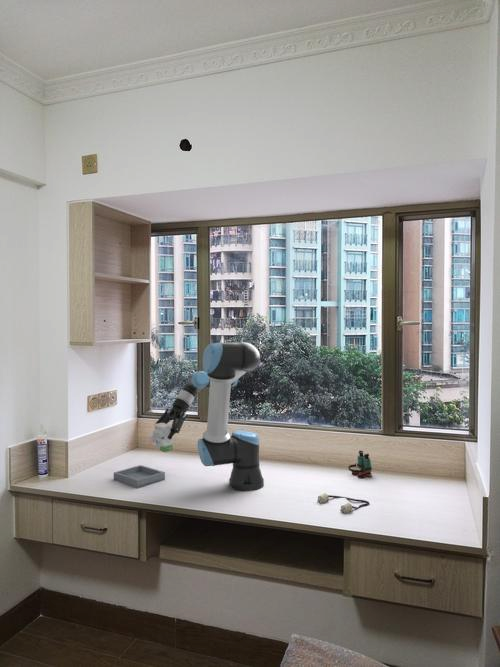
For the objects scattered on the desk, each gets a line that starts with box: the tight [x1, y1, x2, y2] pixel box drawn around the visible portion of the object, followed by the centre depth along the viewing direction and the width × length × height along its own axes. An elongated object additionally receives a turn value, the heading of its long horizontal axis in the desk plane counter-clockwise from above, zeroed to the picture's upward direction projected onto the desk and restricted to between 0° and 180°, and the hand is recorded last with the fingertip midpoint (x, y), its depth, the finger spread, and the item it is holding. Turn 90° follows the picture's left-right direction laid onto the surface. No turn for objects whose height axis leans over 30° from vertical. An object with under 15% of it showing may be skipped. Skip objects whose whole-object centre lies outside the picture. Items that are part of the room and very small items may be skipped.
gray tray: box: [113, 464, 166, 489], centre depth 238 cm, size 18×15×4 cm
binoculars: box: [347, 450, 373, 479], centre depth 238 cm, size 9×11×10 cm
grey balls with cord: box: [317, 492, 370, 514], centre depth 204 cm, size 16×16×4 cm
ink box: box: [153, 423, 174, 453], centre depth 242 cm, size 9×5×12 cm, turn 36°
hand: (157, 442), depth 240 cm, fingers closed on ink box, 9 cm apart
